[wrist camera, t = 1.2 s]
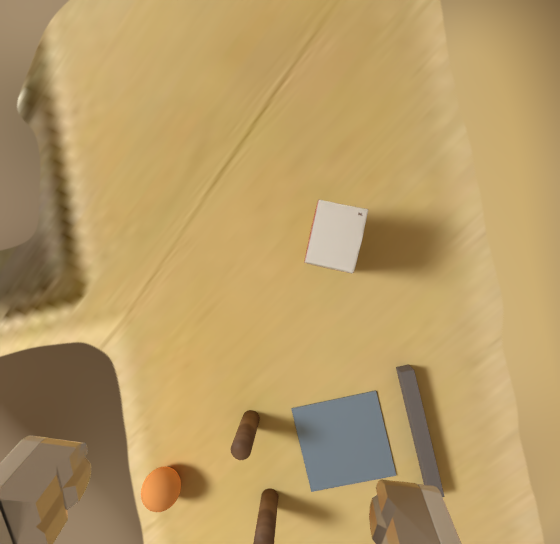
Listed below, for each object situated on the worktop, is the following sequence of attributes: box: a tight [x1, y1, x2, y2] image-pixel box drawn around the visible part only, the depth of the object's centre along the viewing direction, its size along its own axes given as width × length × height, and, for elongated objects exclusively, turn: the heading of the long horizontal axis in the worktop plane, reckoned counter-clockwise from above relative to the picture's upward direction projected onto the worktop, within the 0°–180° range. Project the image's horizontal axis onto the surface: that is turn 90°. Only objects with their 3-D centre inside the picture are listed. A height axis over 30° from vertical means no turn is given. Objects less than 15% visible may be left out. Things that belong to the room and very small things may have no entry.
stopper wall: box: [396, 365, 444, 497], centre depth 50 cm, size 20×2×2 cm, turn 13°
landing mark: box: [292, 391, 396, 492], centre depth 52 cm, size 14×14×1 cm
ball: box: [141, 467, 181, 512], centre depth 51 cm, size 6×6×6 cm
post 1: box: [231, 410, 259, 460], centre depth 48 cm, size 3×3×9 cm
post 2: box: [254, 489, 278, 544], centre depth 48 cm, size 3×3×9 cm
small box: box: [304, 200, 368, 273], centre depth 45 cm, size 8×6×13 cm
